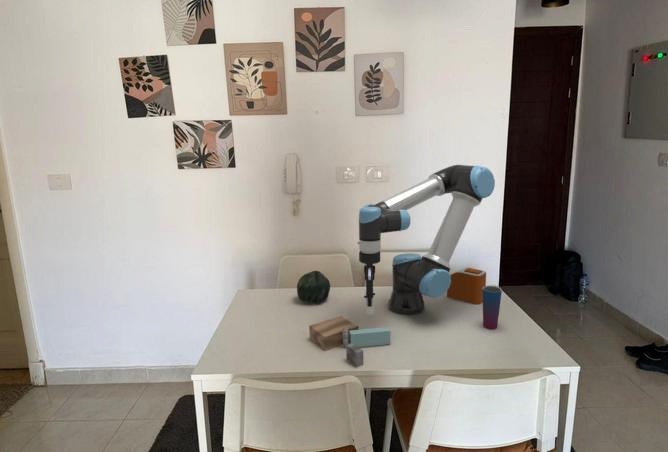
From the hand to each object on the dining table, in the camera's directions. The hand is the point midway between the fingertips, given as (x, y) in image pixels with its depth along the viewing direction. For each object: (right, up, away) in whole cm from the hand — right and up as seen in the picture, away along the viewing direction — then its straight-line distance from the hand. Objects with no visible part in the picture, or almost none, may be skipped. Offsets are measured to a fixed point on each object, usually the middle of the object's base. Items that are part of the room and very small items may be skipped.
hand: (369, 313), depth 157 cm
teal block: (0, -10, -6) cm, 11 cm away
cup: (+46, -6, +6) cm, 47 cm away
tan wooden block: (-9, -10, -7) cm, 15 cm away
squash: (-22, -2, +36) cm, 43 cm away
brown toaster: (+46, 0, +33) cm, 56 cm away
